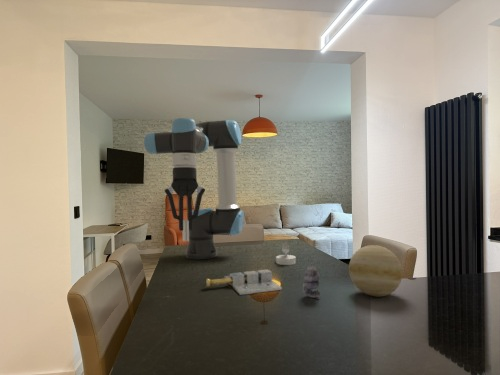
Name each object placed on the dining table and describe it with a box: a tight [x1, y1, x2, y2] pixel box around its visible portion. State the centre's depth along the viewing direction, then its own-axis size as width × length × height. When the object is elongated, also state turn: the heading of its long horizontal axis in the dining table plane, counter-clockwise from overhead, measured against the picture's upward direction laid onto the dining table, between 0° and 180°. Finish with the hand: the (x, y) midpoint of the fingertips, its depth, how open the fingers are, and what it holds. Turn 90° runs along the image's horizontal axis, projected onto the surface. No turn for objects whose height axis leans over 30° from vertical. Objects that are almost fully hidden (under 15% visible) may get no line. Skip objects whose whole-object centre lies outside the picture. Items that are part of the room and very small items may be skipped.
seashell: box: [302, 264, 321, 298], centre depth 95 cm, size 5×5×10 cm
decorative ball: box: [348, 244, 403, 297], centre depth 97 cm, size 15×15×15 cm
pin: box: [205, 276, 247, 288], centre depth 108 cm, size 3×16×3 cm, turn 109°
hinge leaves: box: [223, 269, 282, 296], centre depth 110 cm, size 20×14×4 cm
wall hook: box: [275, 242, 297, 266], centre depth 140 cm, size 9×10×10 cm
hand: (185, 240), depth 103 cm, fingers closed
